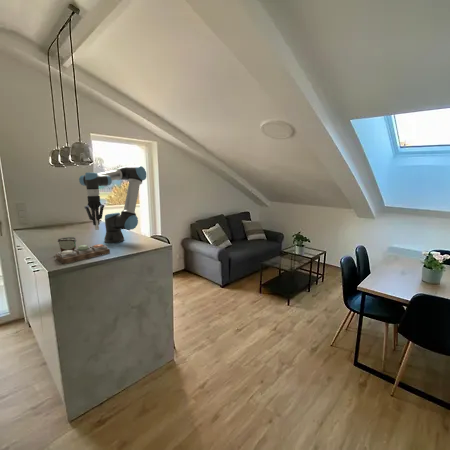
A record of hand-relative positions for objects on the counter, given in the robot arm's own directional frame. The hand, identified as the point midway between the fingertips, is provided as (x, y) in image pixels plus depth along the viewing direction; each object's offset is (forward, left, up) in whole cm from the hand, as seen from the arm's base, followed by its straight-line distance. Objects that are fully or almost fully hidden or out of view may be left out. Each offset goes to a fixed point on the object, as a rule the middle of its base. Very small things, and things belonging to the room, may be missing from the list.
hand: (96, 229), depth 183 cm
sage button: (+10, 0, -12) cm, 16 cm away
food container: (+12, -19, -17) cm, 28 cm away
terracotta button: (0, 0, -14) cm, 14 cm away
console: (+10, 0, -17) cm, 20 cm away
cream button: (+20, 0, -14) cm, 24 cm away
